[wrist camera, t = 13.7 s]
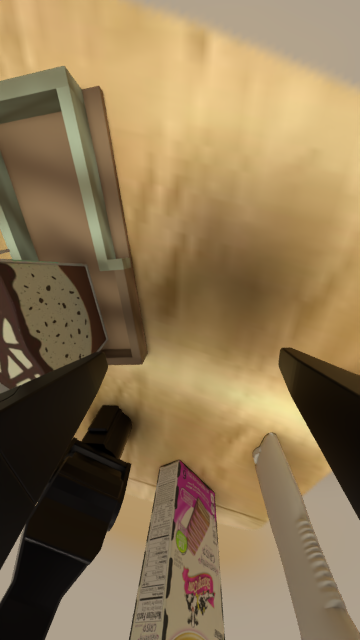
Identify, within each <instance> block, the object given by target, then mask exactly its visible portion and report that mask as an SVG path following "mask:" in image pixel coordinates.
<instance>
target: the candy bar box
mask: <svg viewBox="0 0 360 640" xmlns="http://www.w3.org/2000/svg"><path fill="white" fill-rule="evenodd" d="M129 640H225V634H224V622H223V607H222V592H221V577H220V566H219V549H218V537H217V521H216V506H215V493H214V492H213V491H212V490H210V489H209V488H208V487H207V486H206V485H205V484H204V483H203V482H202V481H201V480H200V479H199V478H198V477H197V476H196V475H195V474H193V473H192V472H191V471H190V470H189V469H188V468H187V467H186V466H185V465H184V464H183V463H182V462H181V461H180V460H178V461H174V462H172V463H170V464H168V465H165V466H163V467H160V469H159V475H158V481H157V486H156V492H155V498H154V503H153V509H152V515H151V520H150V526H149V531H148V536H147V542H146V548H145V554H144V560H143V565H142V571H141V576H140V582H139V588H138V593H137V598H136V603H135V610H134V614H133V620H132V626H131V632H130V637H129Z"/></svg>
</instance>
